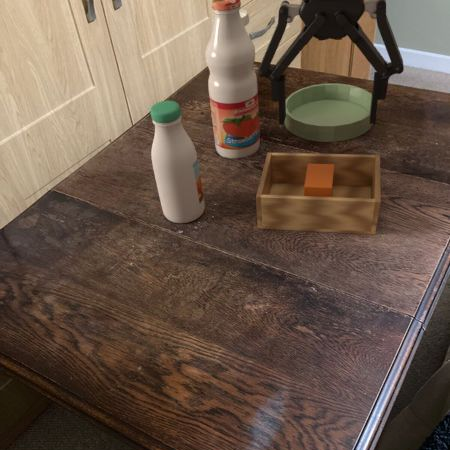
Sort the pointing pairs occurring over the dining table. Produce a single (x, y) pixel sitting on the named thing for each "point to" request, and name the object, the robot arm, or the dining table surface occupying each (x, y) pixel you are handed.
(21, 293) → the dining table surface
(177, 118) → the milk bottle
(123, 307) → the dining table surface
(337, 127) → the bowl
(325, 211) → the holder
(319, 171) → the box
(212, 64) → the fruit juice
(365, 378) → the dining table surface
